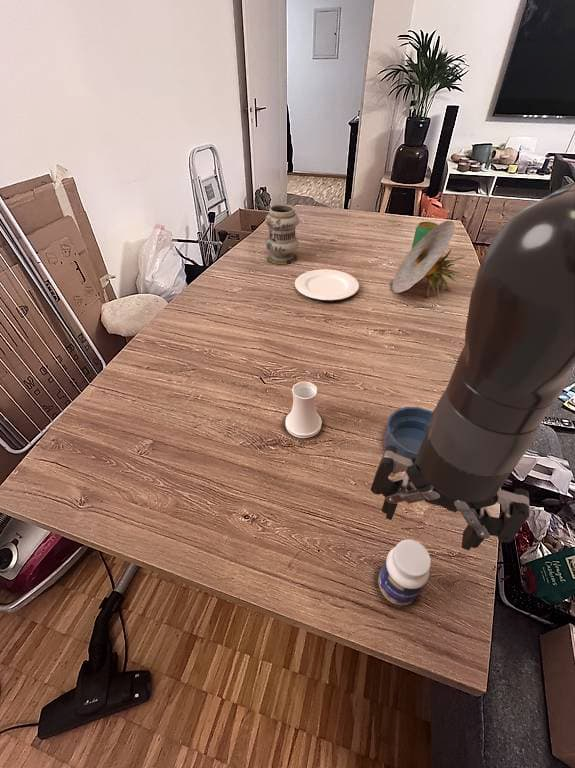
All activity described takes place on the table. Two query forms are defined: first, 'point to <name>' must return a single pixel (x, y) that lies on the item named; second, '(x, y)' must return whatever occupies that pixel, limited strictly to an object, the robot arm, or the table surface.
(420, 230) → the beverage can
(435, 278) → the potted plant
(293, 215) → the apothecary jar
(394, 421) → the bowl
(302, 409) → the vase
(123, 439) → the table surface
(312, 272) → the plate
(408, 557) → the pill bottle
